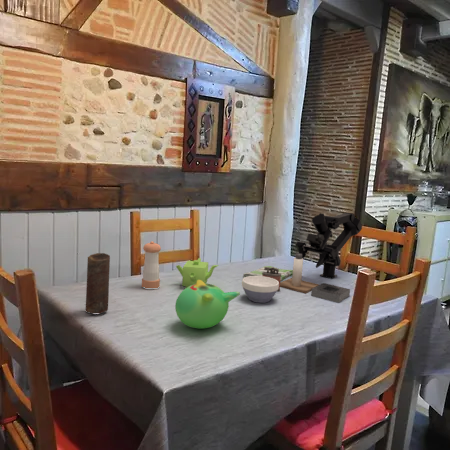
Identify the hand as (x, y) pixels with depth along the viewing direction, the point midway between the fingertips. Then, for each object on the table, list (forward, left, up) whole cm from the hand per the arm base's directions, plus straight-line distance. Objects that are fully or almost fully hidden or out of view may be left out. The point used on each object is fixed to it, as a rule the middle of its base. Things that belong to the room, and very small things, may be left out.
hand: (307, 264), depth 196 cm
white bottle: (+8, -1, -8) cm, 11 cm away
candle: (+87, -36, -9) cm, 94 cm away
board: (+6, -1, -9) cm, 11 cm away
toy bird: (+71, -3, -9) cm, 71 cm away
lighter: (+20, -7, -9) cm, 23 cm away
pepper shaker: (+54, -44, -9) cm, 70 cm away
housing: (+8, +15, -9) cm, 19 cm away
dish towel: (0, -19, -10) cm, 21 cm away
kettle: (+39, -32, -9) cm, 51 cm away
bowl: (+34, -4, -9) cm, 35 cm away
